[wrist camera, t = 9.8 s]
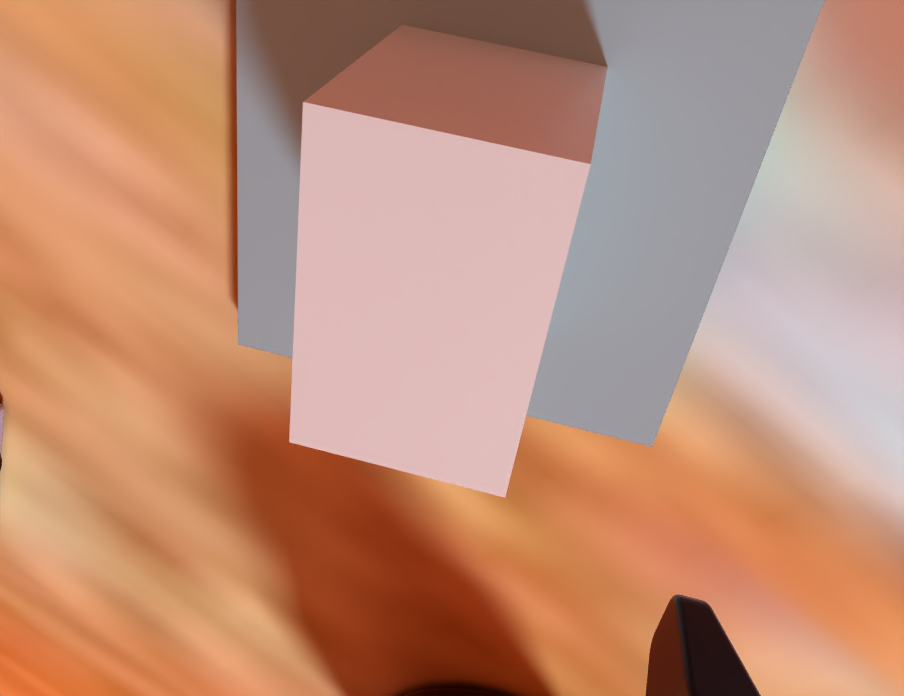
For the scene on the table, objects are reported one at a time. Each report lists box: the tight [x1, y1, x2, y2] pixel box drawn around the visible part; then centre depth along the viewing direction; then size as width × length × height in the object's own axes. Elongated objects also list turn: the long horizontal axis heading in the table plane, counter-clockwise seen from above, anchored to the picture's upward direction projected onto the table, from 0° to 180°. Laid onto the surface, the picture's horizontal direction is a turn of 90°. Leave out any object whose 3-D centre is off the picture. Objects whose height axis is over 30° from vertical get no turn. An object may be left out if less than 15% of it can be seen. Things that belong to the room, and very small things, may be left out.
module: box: [289, 25, 608, 497], centre depth 17 cm, size 4×7×6 cm, turn 173°
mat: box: [236, 0, 824, 447], centre depth 19 cm, size 12×12×1 cm
